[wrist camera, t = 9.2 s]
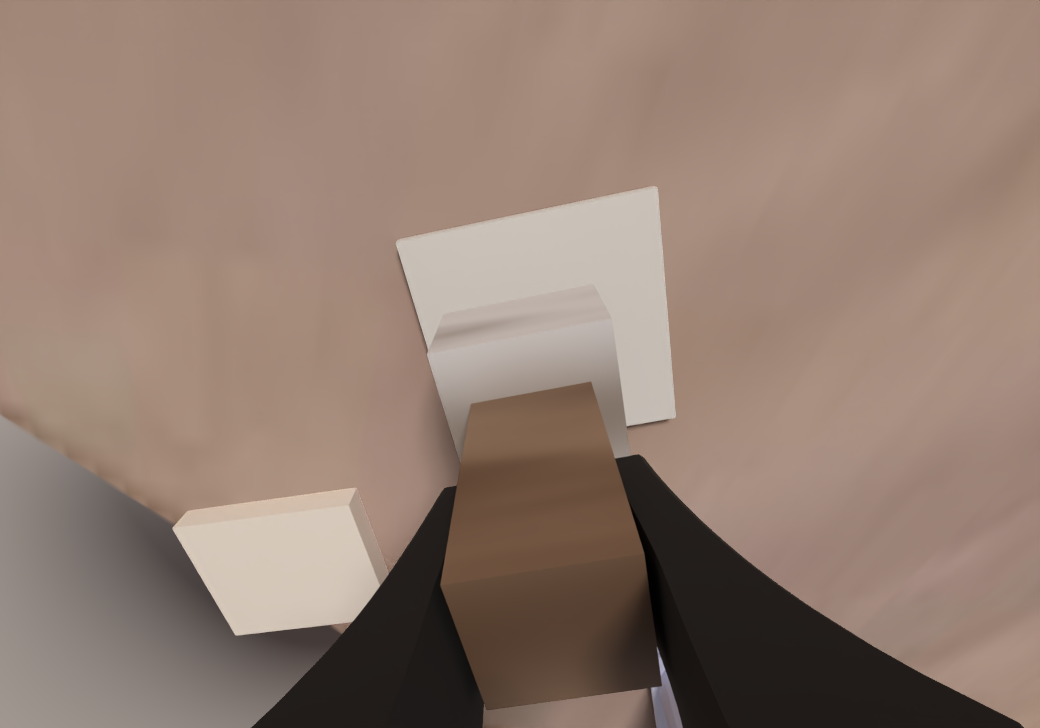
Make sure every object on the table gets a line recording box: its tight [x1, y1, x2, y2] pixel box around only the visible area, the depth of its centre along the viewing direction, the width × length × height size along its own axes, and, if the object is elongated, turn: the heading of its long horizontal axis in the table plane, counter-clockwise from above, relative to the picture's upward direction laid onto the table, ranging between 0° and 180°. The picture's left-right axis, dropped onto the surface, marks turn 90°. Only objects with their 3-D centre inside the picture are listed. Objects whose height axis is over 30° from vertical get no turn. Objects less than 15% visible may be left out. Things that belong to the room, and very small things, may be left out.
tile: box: [173, 488, 389, 635], centre depth 24 cm, size 7×2×8 cm
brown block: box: [427, 284, 662, 710], centre depth 12 cm, size 6×4×8 cm
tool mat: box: [396, 186, 676, 426], centre depth 19 cm, size 9×9×1 cm
